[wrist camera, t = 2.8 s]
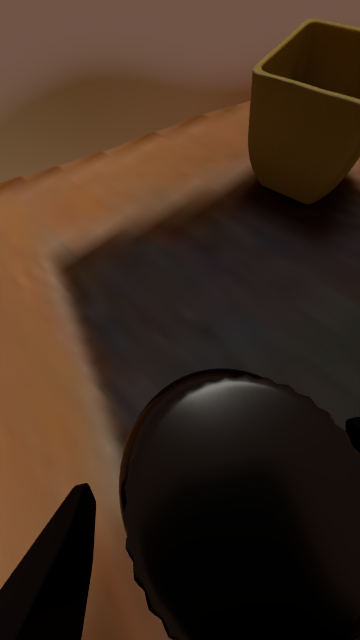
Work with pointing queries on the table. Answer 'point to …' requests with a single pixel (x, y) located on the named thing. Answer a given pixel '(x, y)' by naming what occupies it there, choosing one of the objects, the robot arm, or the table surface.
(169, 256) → the table surface
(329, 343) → the table surface
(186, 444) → the supplement bottle
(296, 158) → the flower pot
